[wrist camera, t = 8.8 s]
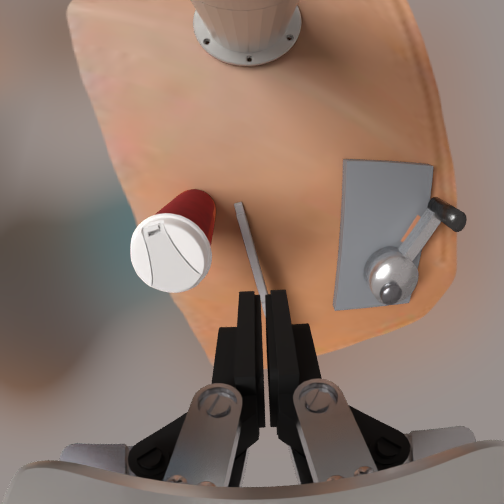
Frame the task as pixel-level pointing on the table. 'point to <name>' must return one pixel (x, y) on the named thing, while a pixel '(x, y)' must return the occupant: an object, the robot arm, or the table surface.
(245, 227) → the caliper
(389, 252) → the metal crank handle
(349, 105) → the table surface
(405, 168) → the stand
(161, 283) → the paper cup
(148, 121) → the table surface
